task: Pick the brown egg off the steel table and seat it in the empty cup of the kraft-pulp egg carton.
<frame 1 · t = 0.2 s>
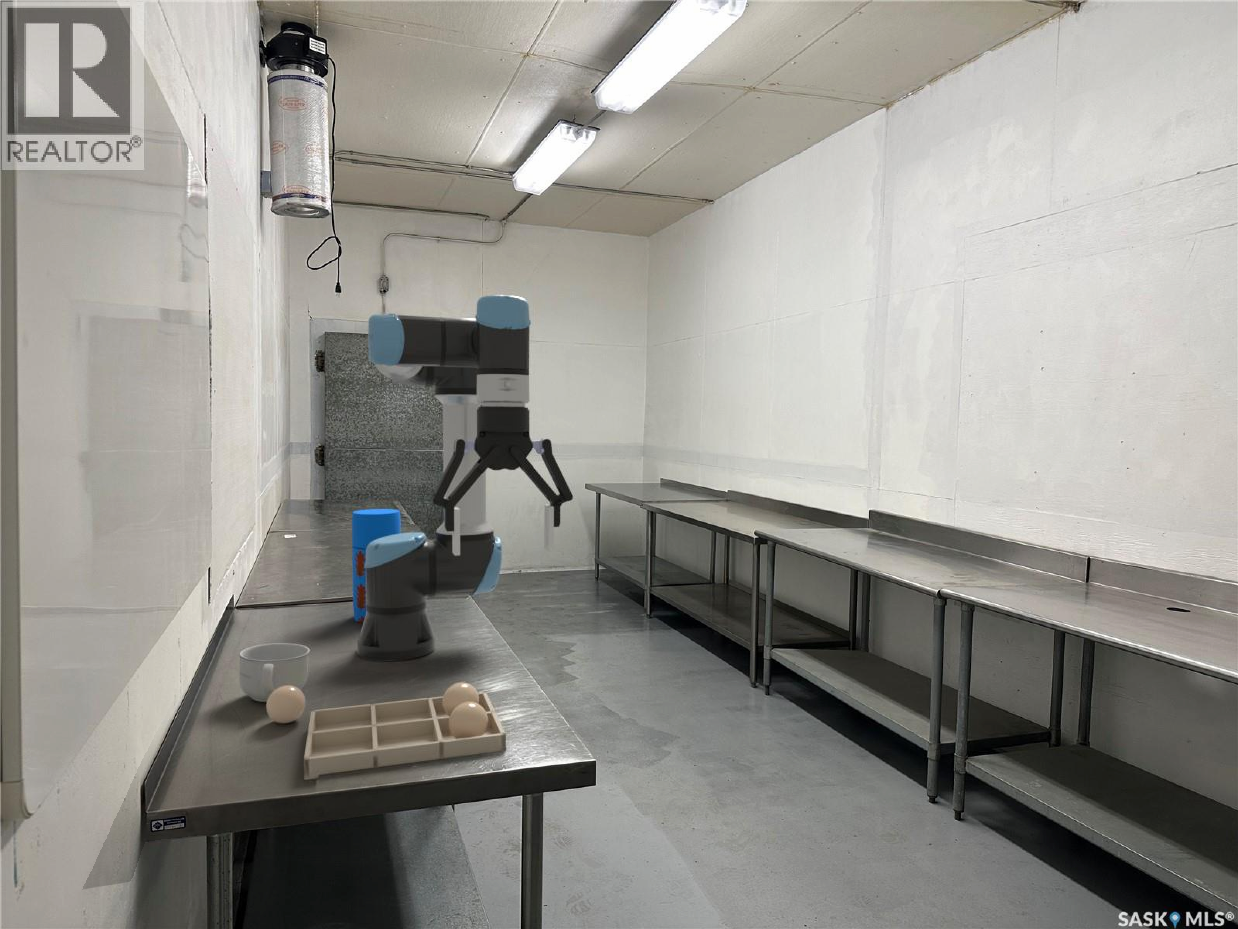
hand: (503, 551, 113), 28 cm above the table, fingers open, 13 cm apart
egg: (286, 722, 120), on the table
carton: (405, 740, 113), on the table
teacup: (272, 701, 129), on the table
egg back left: (460, 718, 120), resting on carton
egg front left: (468, 740, 112), resting on carton
thermos: (377, 618, 182), on the table
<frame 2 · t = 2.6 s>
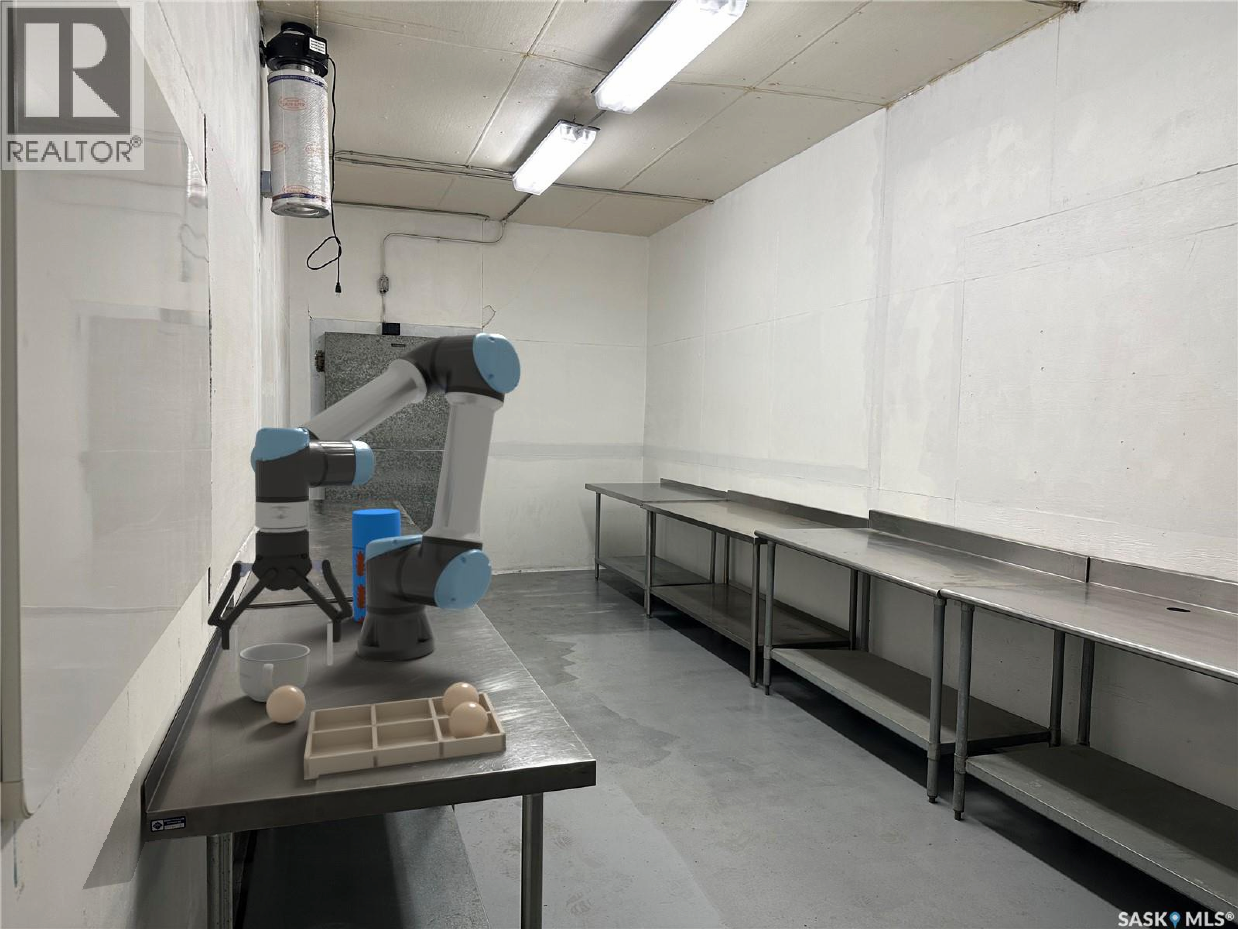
hand: (282, 666, 119), 9 cm above the table, fingers open, 13 cm apart
nothing on the table moved.
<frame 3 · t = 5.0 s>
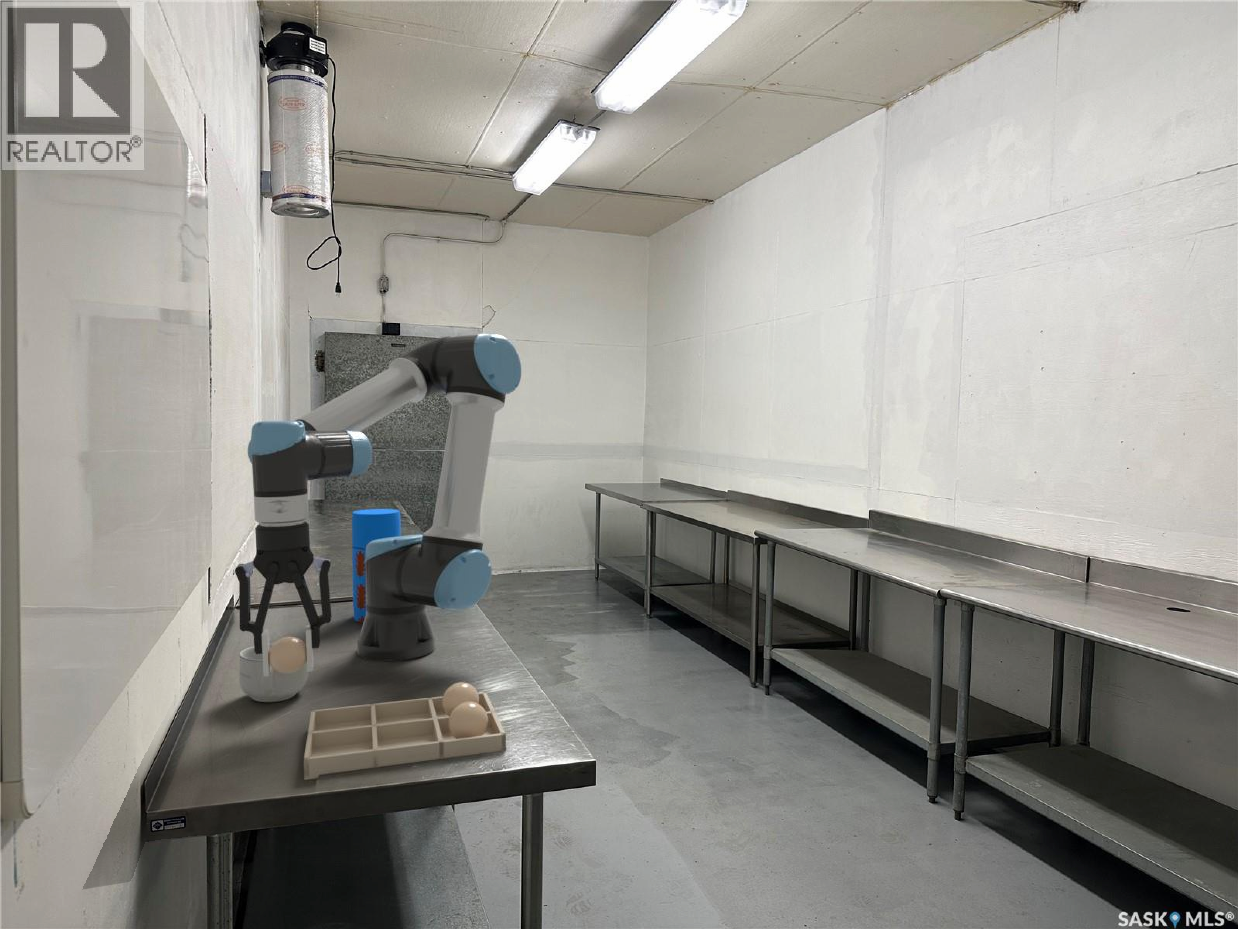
hand: (289, 670, 120), 8 cm above the table, fingers closed on egg, 5 cm apart
egg: (288, 673, 120), point 8 cm above the table, touching gripper
everything else where it was.
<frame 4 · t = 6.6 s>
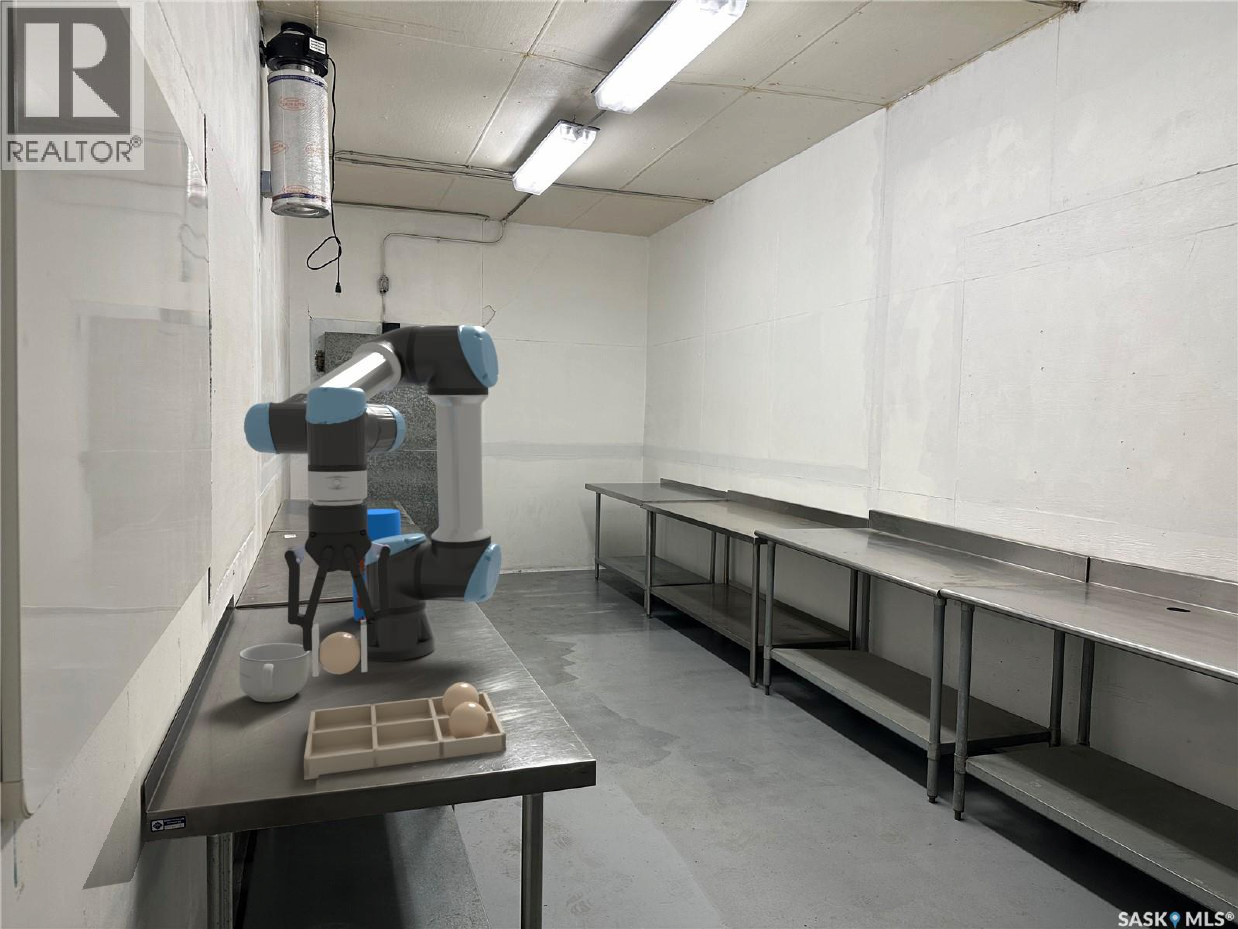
hand: (340, 670, 106), 13 cm above the table, fingers closed on egg, 5 cm apart
egg: (340, 673, 106), point 12 cm above the table, touching gripper
everything else where it was.
when the fingers open (3 cm above the table, at t = 8.7 s): egg stays where it is, resting on carton.
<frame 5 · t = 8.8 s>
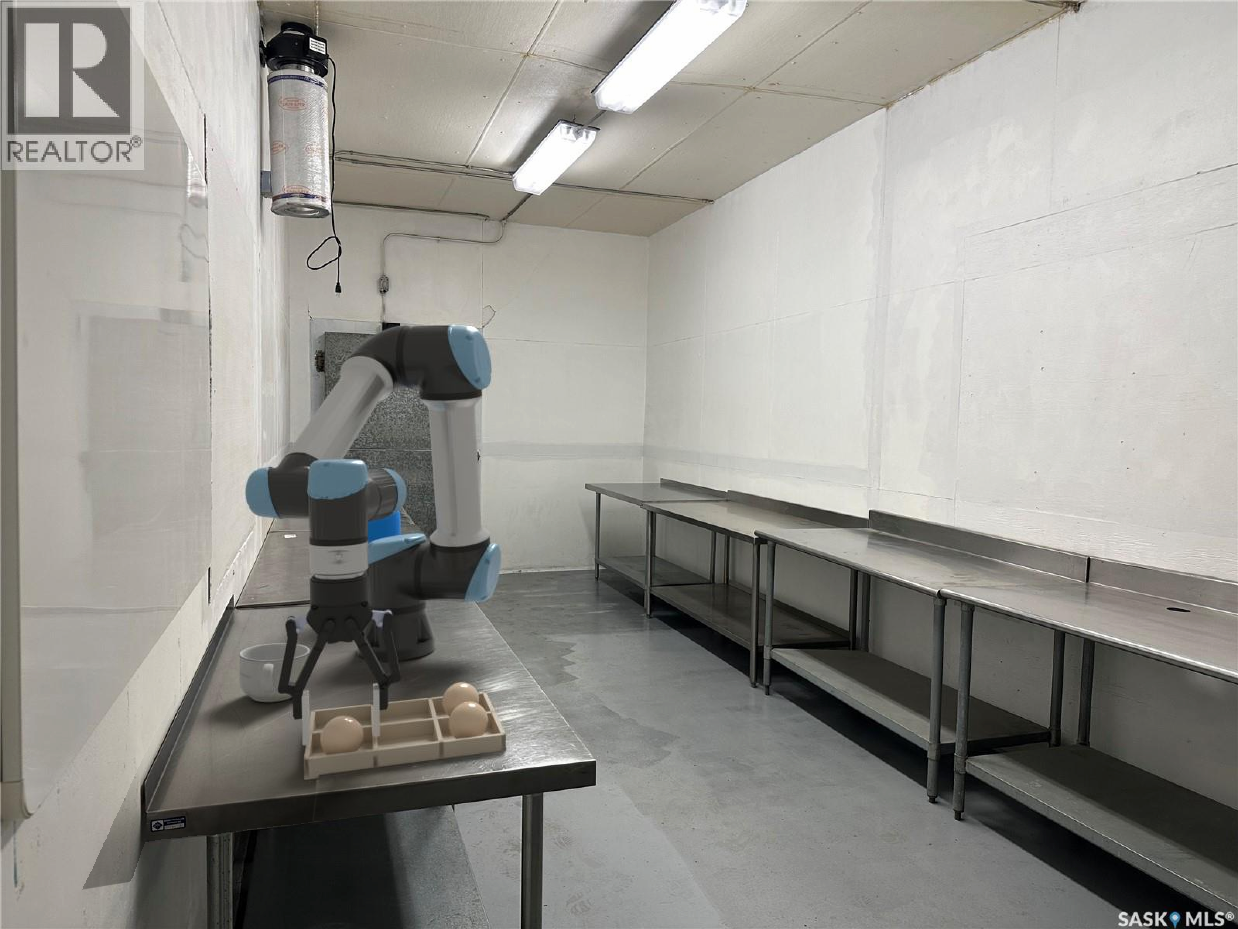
hand: (341, 736, 106), 3 cm above the table, fingers open, 8 cm apart
egg: (342, 757, 106), resting on carton
everything else where it was.
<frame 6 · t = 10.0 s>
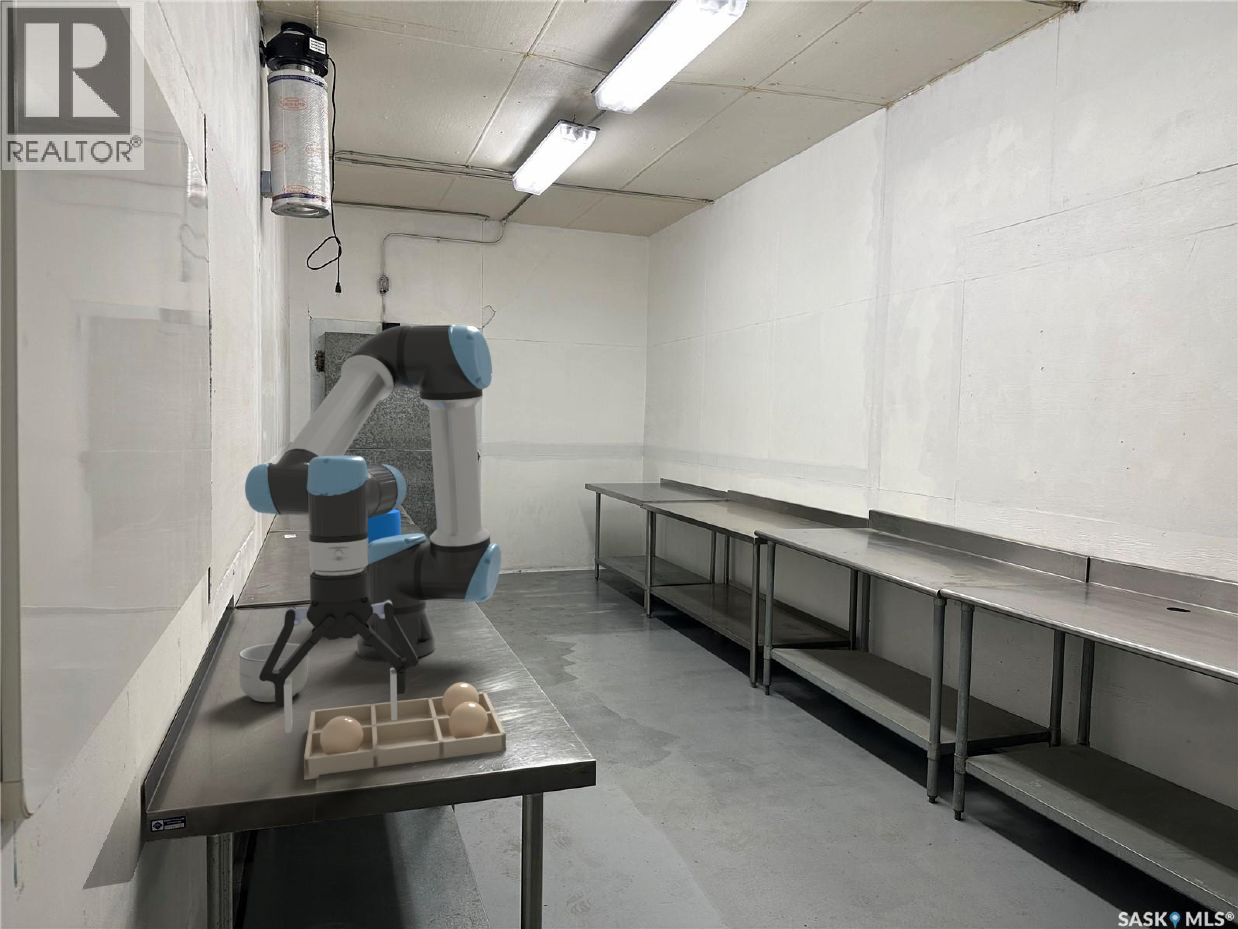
hand: (342, 722, 106), 5 cm above the table, fingers open, 13 cm apart
nothing on the table moved.
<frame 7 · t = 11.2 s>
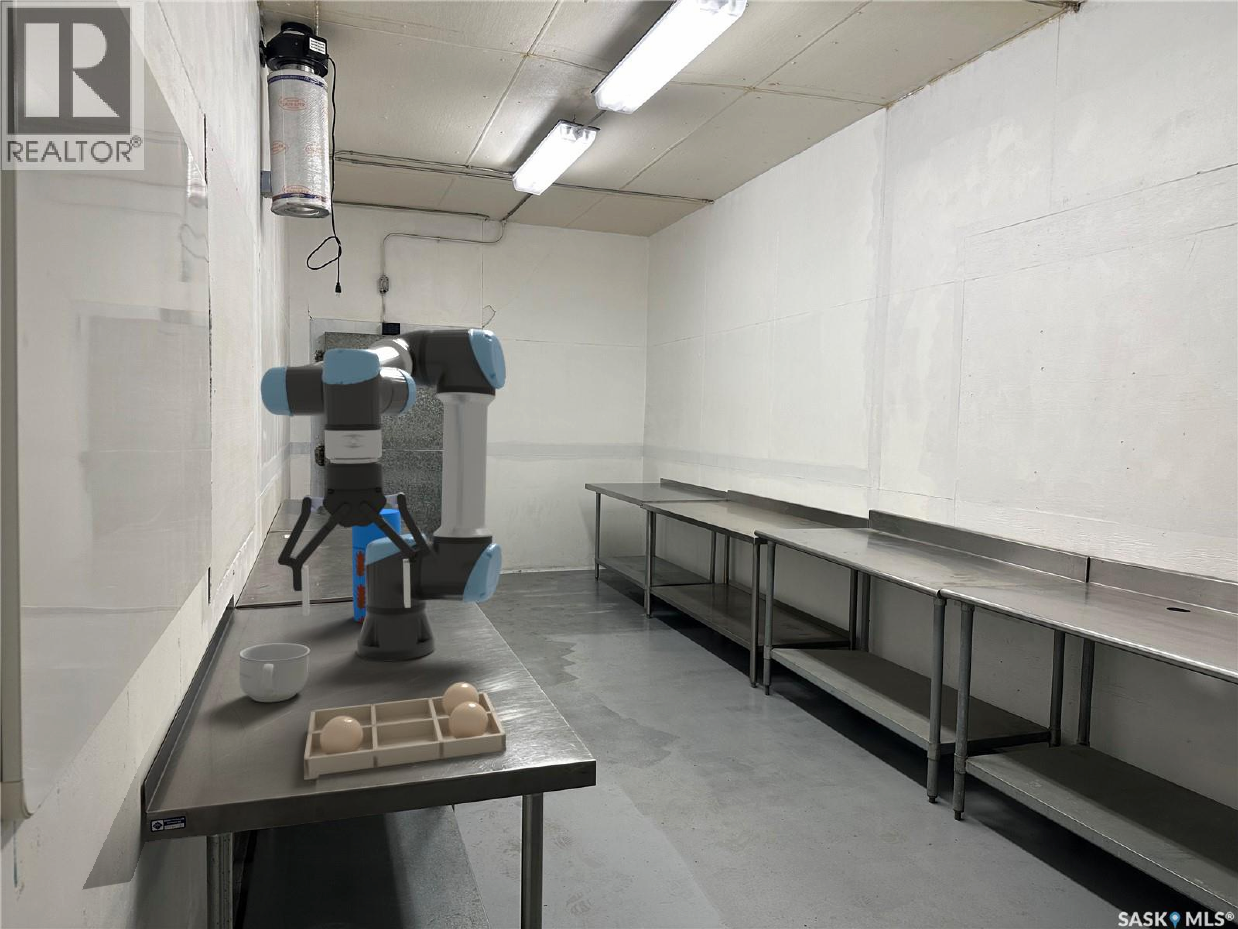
hand: (357, 609, 110), 20 cm above the table, fingers open, 13 cm apart
nothing on the table moved.
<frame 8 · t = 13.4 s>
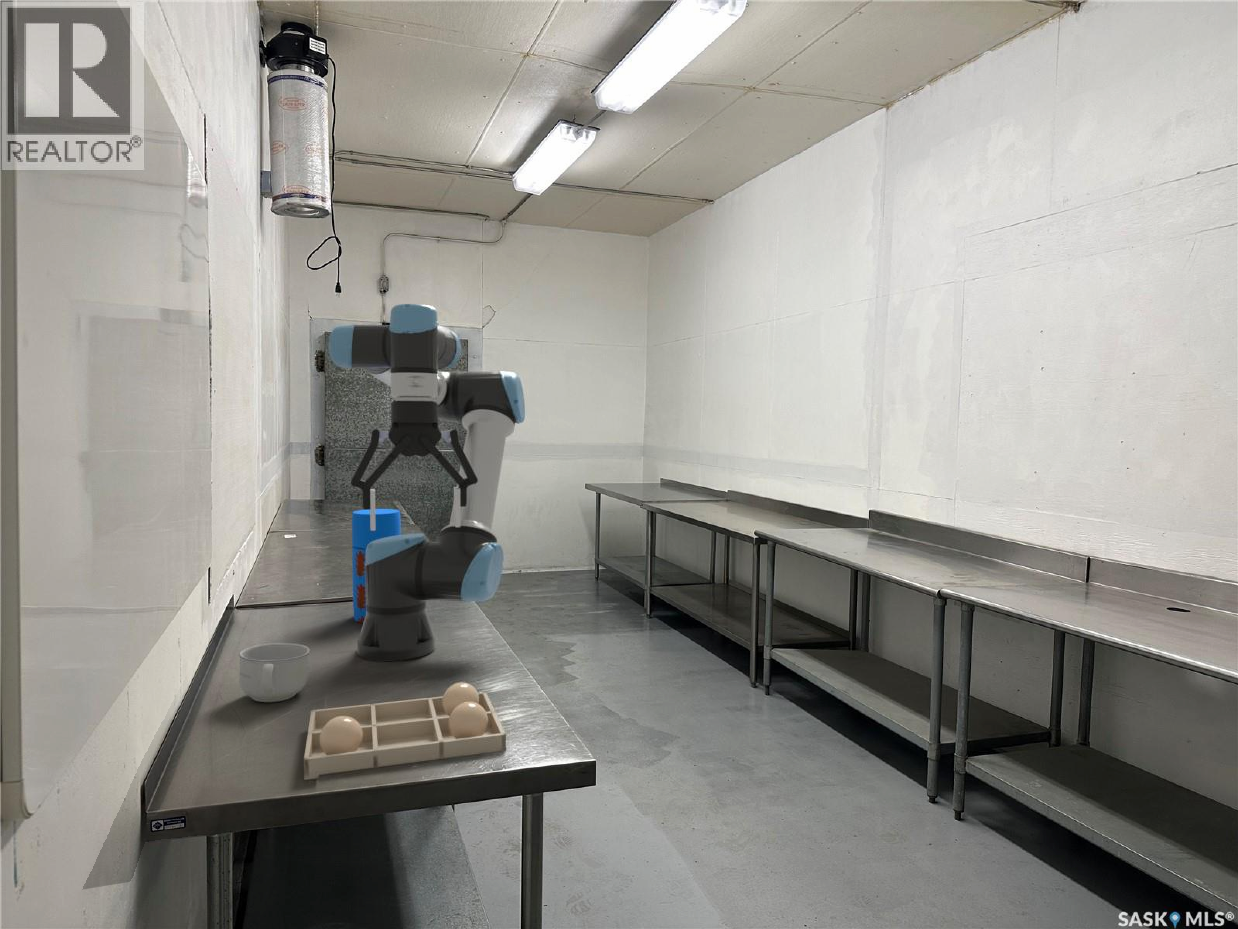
hand: (415, 528, 129), 29 cm above the table, fingers open, 13 cm apart
nothing on the table moved.
at the end: egg 0.1 cm from the target spot on the carton, point 0.5 cm above the carton's base; the gripper is holding nothing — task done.
